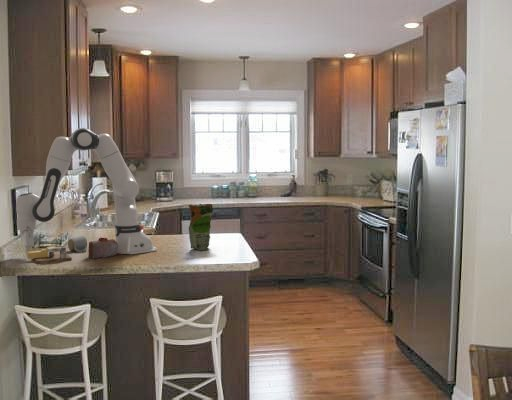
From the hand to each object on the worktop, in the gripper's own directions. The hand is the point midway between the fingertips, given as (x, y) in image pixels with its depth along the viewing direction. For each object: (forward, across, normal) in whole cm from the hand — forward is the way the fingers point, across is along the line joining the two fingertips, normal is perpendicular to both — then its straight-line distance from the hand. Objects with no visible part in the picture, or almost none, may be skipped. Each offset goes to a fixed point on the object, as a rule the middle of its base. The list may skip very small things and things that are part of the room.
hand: (28, 253), depth 276 cm
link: (+1, -7, -6) cm, 9 cm away
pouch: (+3, -21, -84) cm, 87 cm away
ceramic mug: (+3, +8, -26) cm, 28 cm away
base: (+3, -8, -10) cm, 13 cm away
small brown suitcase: (+3, -14, -34) cm, 37 cm away
